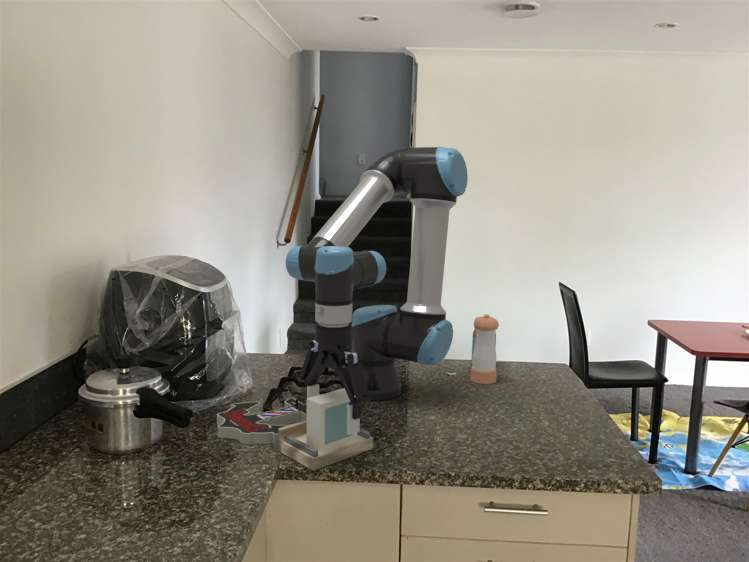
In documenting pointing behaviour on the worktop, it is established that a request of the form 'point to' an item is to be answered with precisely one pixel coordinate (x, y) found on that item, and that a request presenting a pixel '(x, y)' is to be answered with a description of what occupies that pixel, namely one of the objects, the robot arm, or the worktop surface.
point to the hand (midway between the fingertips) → (332, 423)
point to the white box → (328, 420)
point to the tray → (296, 447)
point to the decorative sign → (258, 421)
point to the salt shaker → (484, 351)
